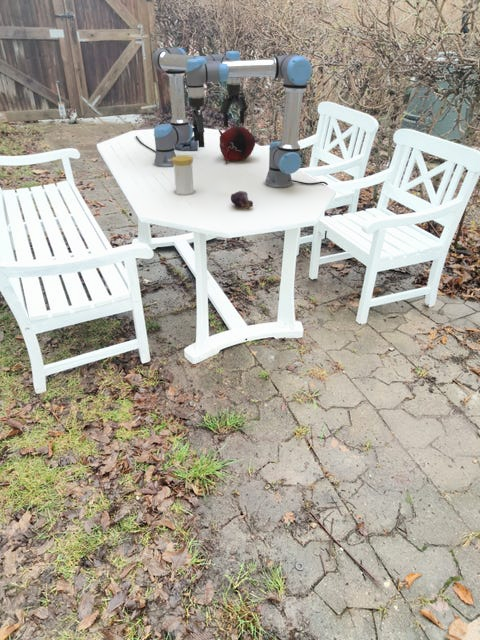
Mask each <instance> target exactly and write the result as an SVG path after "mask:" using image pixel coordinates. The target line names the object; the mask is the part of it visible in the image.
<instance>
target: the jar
mask: <svg viewBox="0 0 480 640" xmlns="http://www.w3.org/2000/svg"><path fill="white" fill-rule="evenodd" d="M173 165H174V166H173V174H174V176H173V177H174V186H175V193H176V194H177V195H182V196H183V195H184V196H187V195H191V194H193V193H194V192H195V188H194V187H195V185H194V173H193V163H192V164H189V165H175V164H173Z"/></svg>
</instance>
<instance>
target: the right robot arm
mask: <svg viewBox="0 0 480 640" xmlns="http://www.w3.org/2000/svg"><path fill="white" fill-rule="evenodd" d="M312 68H313V67H312V64H311V62H310V60H308V59H307V58H306V57H305V56H302V55H298V54H294V53H293V54H292V53H291V54H290V53H289V54H285V55H276V56H271V58H259V59H240V60H228V61H212V60H209V61H206V62H205V63H204V64H203V63H202V60H201V59H189V60H187V61H186V70H185V74H186V83H187V89H186V92H187V97H188V106H189V107H190V108H191V109H192V123H191V125H192V128H193V129H194V132H193V136H194V141H198V149H199V148H205V127H204V126H205V125H204V118H203V110H202V109H201V107H204V106H205V97H204V96H205V86H204V83H223V82H227V80H228V78H239V77H240V78H261V77H263V78H264V77H271V79H272V80H273V79H278V80H279V79H280V80H283V83H282V88H283V89H284V91H285V95H284V104H283V105H284V106H283V119H282V128H281V130H282V131H281V138H280V140H277V141H271V142H270V144H269V148H268V149H269V153H268V154H269V155H268V158H269V159H268V162H269V163H268V171H267V175H266V176H265V177H266V178H265V182H264V183H265V185H266V186H268V187H271V188H278V189H279V188H288V187H290V186H292V185H293V183H297V184H302V185H307V186H308V185H310V186H311V185H320V184H324V185H326V186H329V184H328V183H327V182H326V181H317V182H304V181H301V180H294V179H293V178H292V174H294V173H297V171H298V170H300V167H301V165H302V158H301V155H300V152H301V145H300V144H299V143H298V142H299V134H300V126H301V115H302V107H303V99H304V98H303V97H304V92H305V91H306V90H307V88H308V83H309V81H310V79H311V78H312V73H313V69H312ZM327 234H328V230H324V240H327Z"/></svg>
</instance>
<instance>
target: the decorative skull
mask: <svg viewBox="0 0 480 640" xmlns="http://www.w3.org/2000/svg"><path fill="white" fill-rule="evenodd" d="M218 133H219V135H220V136H219V150H220V152H221V154H222V157H223V158H224V160H225V165H227V164H228V161H230V162H242V161H244V160H246V159H248V158H249V157H250V156H251V155H252V153H253V151H254V149H255V147H256V142H257V141H256V137H255V135H254V134H253V133H251V131H249V130H248V129H247V128H246V127H243V126H232V127H230V128H228V129H226V130H224V131H222V130H220V129H218Z"/></svg>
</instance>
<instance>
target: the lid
mask: <svg viewBox="0 0 480 640" xmlns="http://www.w3.org/2000/svg"><path fill="white" fill-rule="evenodd" d="M193 162H194V159H193V157H192V156H191V155H176V157H173V158H172V163H173V164H175V165H189V164H192V165H193Z"/></svg>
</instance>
